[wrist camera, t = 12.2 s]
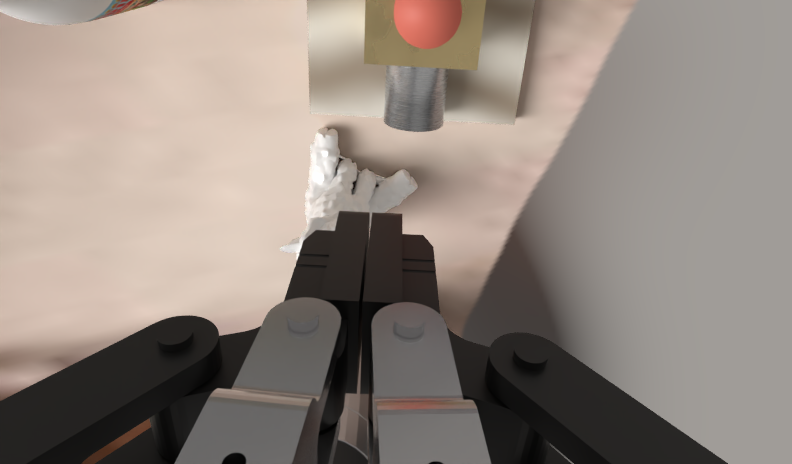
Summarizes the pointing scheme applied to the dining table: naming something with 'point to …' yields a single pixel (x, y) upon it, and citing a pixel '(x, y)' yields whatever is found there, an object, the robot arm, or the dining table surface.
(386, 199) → the sitting furry creature
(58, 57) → the dining table surface
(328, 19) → the mounting board
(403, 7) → the valve lever
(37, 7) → the milk bottle
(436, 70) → the valve body
